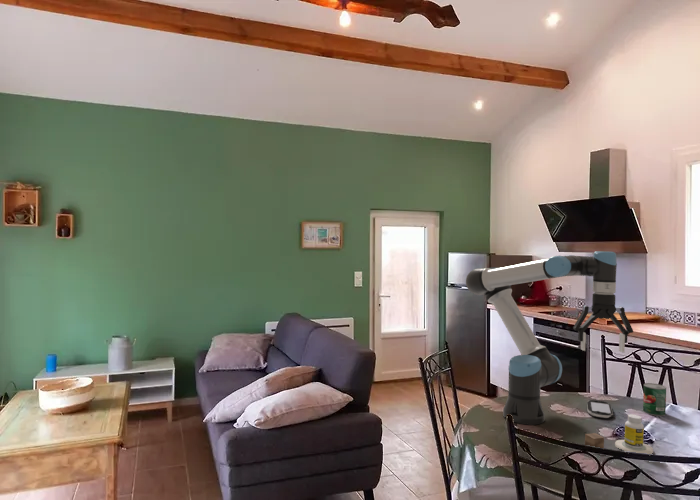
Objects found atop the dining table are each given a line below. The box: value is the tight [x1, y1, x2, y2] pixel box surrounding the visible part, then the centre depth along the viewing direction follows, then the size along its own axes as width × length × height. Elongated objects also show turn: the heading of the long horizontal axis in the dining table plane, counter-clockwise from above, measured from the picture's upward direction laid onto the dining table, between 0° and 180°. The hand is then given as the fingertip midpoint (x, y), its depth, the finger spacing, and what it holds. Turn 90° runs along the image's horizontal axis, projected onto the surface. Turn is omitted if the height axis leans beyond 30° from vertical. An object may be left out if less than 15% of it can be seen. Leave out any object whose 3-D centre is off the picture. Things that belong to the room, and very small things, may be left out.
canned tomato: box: [642, 382, 667, 417], centre depth 200 cm, size 8×8×11 cm
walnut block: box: [584, 432, 605, 449], centre depth 164 cm, size 4×4×4 cm
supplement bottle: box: [623, 414, 645, 448], centre depth 164 cm, size 5×5×10 cm
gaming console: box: [586, 399, 614, 420], centre depth 200 cm, size 19×9×2 cm, turn 156°
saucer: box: [614, 439, 654, 455], centre depth 164 cm, size 11×11×1 cm
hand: (602, 350), depth 181 cm, fingers open, 13 cm apart
